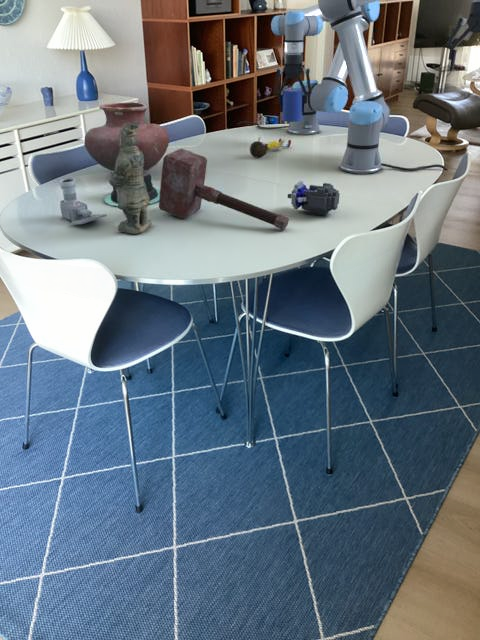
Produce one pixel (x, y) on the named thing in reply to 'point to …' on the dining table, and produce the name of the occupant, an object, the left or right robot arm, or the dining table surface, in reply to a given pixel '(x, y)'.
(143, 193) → the statue
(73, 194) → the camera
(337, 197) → the toy
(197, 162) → the sledgehammer
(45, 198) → the dining table surface
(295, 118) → the canister
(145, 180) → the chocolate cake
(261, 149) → the figurine
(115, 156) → the clay pot
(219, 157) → the dining table surface
